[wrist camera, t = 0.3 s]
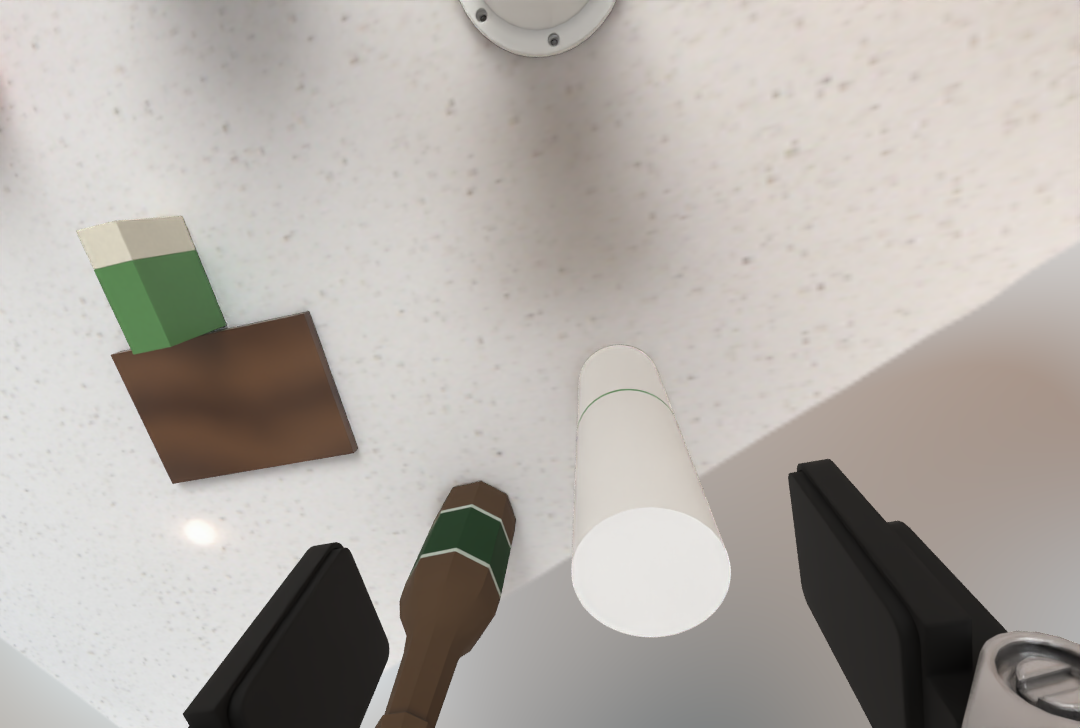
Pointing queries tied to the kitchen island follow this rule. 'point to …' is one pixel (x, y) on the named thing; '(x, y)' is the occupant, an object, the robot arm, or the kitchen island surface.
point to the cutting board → (239, 399)
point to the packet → (152, 281)
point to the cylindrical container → (640, 505)
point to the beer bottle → (449, 599)
